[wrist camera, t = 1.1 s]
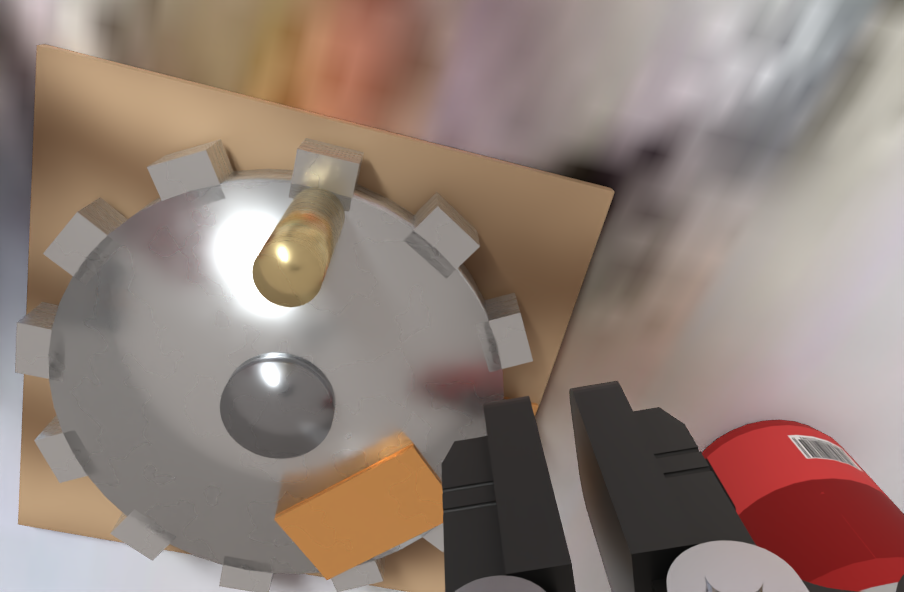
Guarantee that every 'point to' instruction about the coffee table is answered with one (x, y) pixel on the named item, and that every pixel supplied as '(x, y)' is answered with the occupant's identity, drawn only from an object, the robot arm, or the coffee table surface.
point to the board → (274, 147)
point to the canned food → (811, 505)
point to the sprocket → (269, 364)
